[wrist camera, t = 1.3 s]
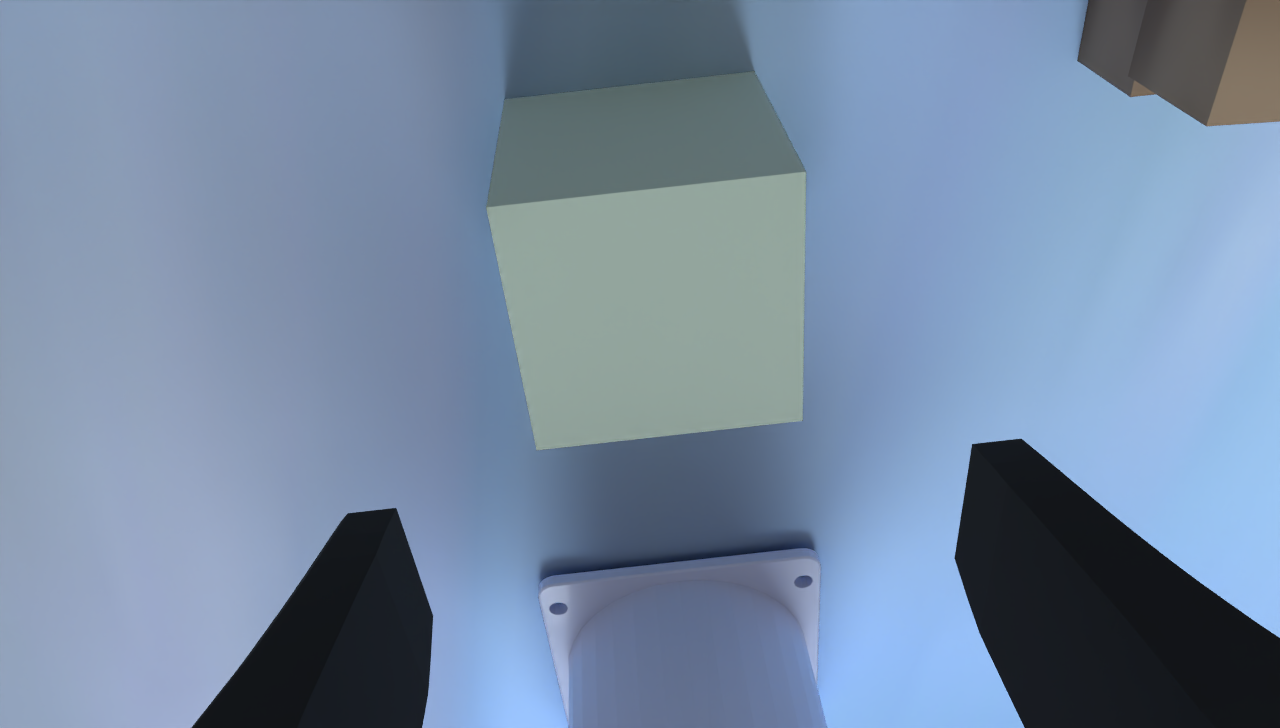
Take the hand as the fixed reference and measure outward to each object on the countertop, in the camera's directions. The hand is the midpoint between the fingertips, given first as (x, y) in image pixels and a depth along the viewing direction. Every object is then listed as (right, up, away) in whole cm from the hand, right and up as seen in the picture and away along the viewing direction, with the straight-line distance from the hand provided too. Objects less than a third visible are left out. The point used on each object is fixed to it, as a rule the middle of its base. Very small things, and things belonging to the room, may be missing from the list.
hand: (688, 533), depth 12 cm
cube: (-1, +6, +8) cm, 10 cm away
